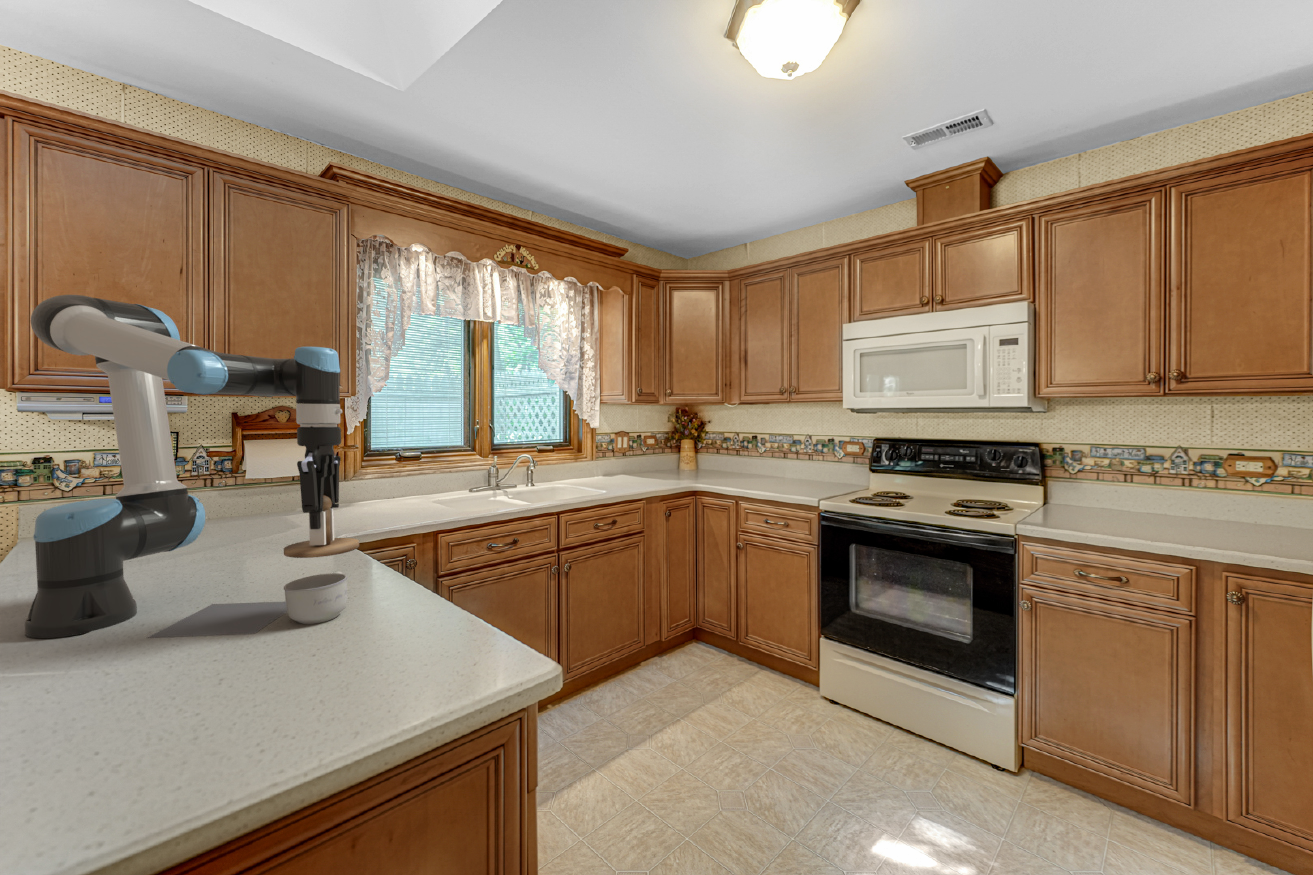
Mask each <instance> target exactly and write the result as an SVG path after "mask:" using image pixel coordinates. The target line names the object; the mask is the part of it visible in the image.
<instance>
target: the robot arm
mask: <svg viewBox="0 0 1313 875" xmlns="http://www.w3.org/2000/svg"><path fill="white" fill-rule="evenodd" d="M30 315H31V316H30V325H31V329H32V331H33V334H34V335H35V336H36V337H37V338H38V340H40V341H41V342H42V343H43V344H45V345H47V346H48V347H50V348H52V349H55V350H59V351H62V352H64V353H68V354H71V355H74V356H75V355H76V356H90V355H91V356H94V360H95V365H96V368H98V370H100V371H102V372H103V373H105V374H106V375H107V377H108V378H107V379H108V386H109V393H110V398H111V406H112V407H111V408H112V415H113V420H114V426H115V433H116V441H117V448H118V452H119V454H118V456H119V462H120V469H121V474H122V480H123V481H122V482H123V487H122V489H120V491H119V492H117V493H116V494H115V498H95V499H89V500H82V501H75V502H70V503H65V504H61V505H57V506H54V507H51V508H48V509H45V510H44V511H42V512H41V513H40V514H38V515H37V516H36V519H35V524H34V531H33V532H34V533H33V536H32V537H33V540H34V544H35V563H36V566H35V567H36V581H37V582H36V583H37V589H36V590H37V591H36V594H35V597H34V599H33V602H32V605H31V607H30V610H29V613H28V614H27V615H28V616H27V618H26V619H25V621H24V622H25V623H24V634H25V636H26V637H27V638H32V639H53V638H54V639H55V638H64V637H71V636H76V635H77V636H78V635H83V634H87V633H91V632H94V631H98V630H103V629H106V628H109V627H113V626H115V625H119V624H121V623H123V622H127V621H128V620H130V619H132V618H134V617H135V616H136V615H137V614H138V608H137V607H138V606H137V602H136V600H135V599H134V597H133V595H132V591H131V590H130V588H129V585H128V584H127V582H126V580H125V577H124V562H125V561H129V560H133V559H137V558H143V557H147V556H151V555H156V554H160V553H166V552H172V551H175V550H177V549H180V548H184V547H187V546H189V545H190V544H193V543H194V542H195V541H196V540H197V539H198V538H199V536H200V535H201V534H202V532H203V531H204V530H203V529H204V527H205V524H206V510H205V506H204V505H203V503H202V502H200V499H199V498H198V497H196V496H195V495H191V494H189V492H188V486H187V485H186V484H183V483H182V482H180V481H179V480H178V478H177V471H176V464H175V463H176V462H175V458H174V457H175V456H174V451H173V444H172V436H171V431H170V430H171V429H170V422H169V416H168V409H167V408H168V407H167V404H166V402H167V401H166V394H165V388H164V382H163V379H164V380H167V381H169V382H170V383H171V384H172V385H173V386H174V387H175V389H176V390H178V391H181V392H183V393H189V394H191V393H192V394H197V395H205V396H206V395H236V396H254V397H261V398H266V397H267V398H272V397H295V404H296V405H295V406H296V408H295V409H296V410H295V412H296V413H295V414H296V416H295V418H296V420H295V421H296V423H297V425H300V426H298V427H297V428H296V438H297V439H296V440H297V441H296V443H297V445H298V446H300V447H305V451H304V452H305V453H304V459H303V460H298V461H296V462H297V463H296V465H297V469H298V473H299V486H300V498H301V509H302V513H303V514H308V526H309V528H308V529H309V530H308V532H309V540H310V545H325V544H326V518H325V512H322V511H323V495H325V496H327V497H329V498H330V499H331V502H332V506H331V508H330V541H333V540H334V538H335V518H334V515H335V511H334V508H335V509H336V508H339V507H340V503H339V501H340V465H341V460H342V458H341V456H340V455H335V450H334V446H340V445H341V444H342V428H341V427H340V426H338V424H339V425H340V424H341V414H343V409H342V408H341V400H340V393H341V392H340V391H341V390H340V388H341V387H340V386H341V385H340V382H341V368H340V358H339V353H338V352H337V351H336V350H335V349H333V348H330V347H320V346H299V347H296V348H295V349H294V356H293V358H273V357H272V358H270V357H263V356H261V357H260V356H252V355H242V354H241V355H240V354H233V353H225V352H220V351H219V352H218V351H214V350H212V349H208V348H205V347H201V346H199V345H197V344H193V343H190V342H186V341H182V340H181V337H180V332H179V330H178V327H177V325H176V323H175V322H174V321H173V319H172V318H171V317H170V316H169V315H167V314H165V312H164V311H161V310H160V309H157V308H155V307H154V308H152V307H149V306H146V305H142V304H139V303H128V302H123V301H117V300H116V301H115V300H110V299H105V298H98V297H97V298H96V297H91V296H87V295H83V294H82V295H81V294H62V295H55V296H51V297H49V298H47V299H44V300H42V301H41V302H40V303H39V304H38V305H36V307H35V308H34V309H33V311H32V313H31V314H30Z"/></svg>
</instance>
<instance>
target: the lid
mask: <svg viewBox="0 0 1313 875" xmlns="http://www.w3.org/2000/svg"><path fill="white" fill-rule="evenodd" d="M331 506H332V502H331V499H330V498H329V497H327V496H325V495H323V511H322V512H325V518H326V544H325V545H310V539H308V540H304V541H300V542H295V543H292V544H288V545H286V546H284V548H283V555H284V556H285V557H287V558H288V557H289V558H294V559H305V558H306V559H308V558H309V559H311V558H322V557H328V556H329V557H330V556H336V555H342V554H345V553H349V552H352V551H355V550H358V549H359V547H360V540H359V539H357V538H352V537H334V540H333V541H330V508H331Z"/></svg>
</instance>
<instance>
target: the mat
mask: <svg viewBox="0 0 1313 875" xmlns="http://www.w3.org/2000/svg"><path fill="white" fill-rule="evenodd" d="M287 613H288V612H287V607H286V601H266V602H265V601H264V602H258V601H257V602H233V603H232V602H230V603H211V604H210V605H207V606H206V607H203V608H202V609H199V610H198V611H196V612H194V613H192V614H190V615H188V616H186V617H184V618H183V619H180V620H178V621H177V622H175V623H172V624H171V625H169V626H167V627H165V628H163V629H161V630H159V631H157V632H156V633H154V634H152V635H149V636H147V637H146V639H162V638H163V639H164V638H165V639H166V638H182V637H183V638H184V637H185V638H186V637H190V638H191V637H209V636H211V637H212V636H213V637H214V636H232V635H233V636H235V635H236V636H237V635H255V634H256V633H258V632H260V631H261V630H262V629H264V628H265V627H267V626H268V625H270V624H272V623H273V622H274V621H276V620H277V619H279V618H280V617H282V616H284V615H285V614H287Z"/></svg>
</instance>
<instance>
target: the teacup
mask: <svg viewBox="0 0 1313 875" xmlns="http://www.w3.org/2000/svg"><path fill="white" fill-rule="evenodd" d="M347 579H348V575H347V574H345V573H343V572H342V571H338V570H337V571H334V572H331V573H320V574H315V575H310V576H305V577H302V578H301V577H300V578H298V579H295V580H291V581H290V582H288V583H286V584H285V585H284V586H283V590H284V597H285V602H286V607H287V612H286V613H287V614H288V616H289V618H290V619H291V620H292V621H295V622H297V623H298V624H303V625H304V624H305V625H313V624H320V623H325V622H328V621H330V620H331V621H332V620H333V619H335V618H337V617H338V616H339V615H340V613H342V612H343V611H345V608H346V607H347V605H348V601H349V600H348V599H349V598H348V596H349V595H348V580H347Z"/></svg>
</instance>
